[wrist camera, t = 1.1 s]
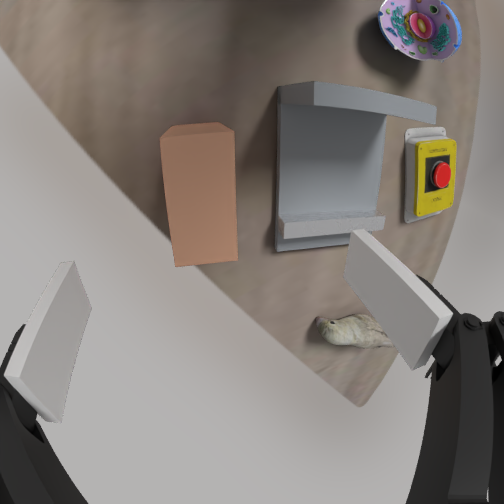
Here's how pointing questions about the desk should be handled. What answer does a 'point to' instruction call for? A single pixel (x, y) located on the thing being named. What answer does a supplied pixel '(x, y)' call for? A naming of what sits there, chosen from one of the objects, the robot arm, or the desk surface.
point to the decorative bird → (354, 331)
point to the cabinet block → (200, 192)
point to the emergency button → (428, 172)
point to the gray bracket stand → (333, 151)
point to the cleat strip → (329, 222)
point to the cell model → (420, 28)
